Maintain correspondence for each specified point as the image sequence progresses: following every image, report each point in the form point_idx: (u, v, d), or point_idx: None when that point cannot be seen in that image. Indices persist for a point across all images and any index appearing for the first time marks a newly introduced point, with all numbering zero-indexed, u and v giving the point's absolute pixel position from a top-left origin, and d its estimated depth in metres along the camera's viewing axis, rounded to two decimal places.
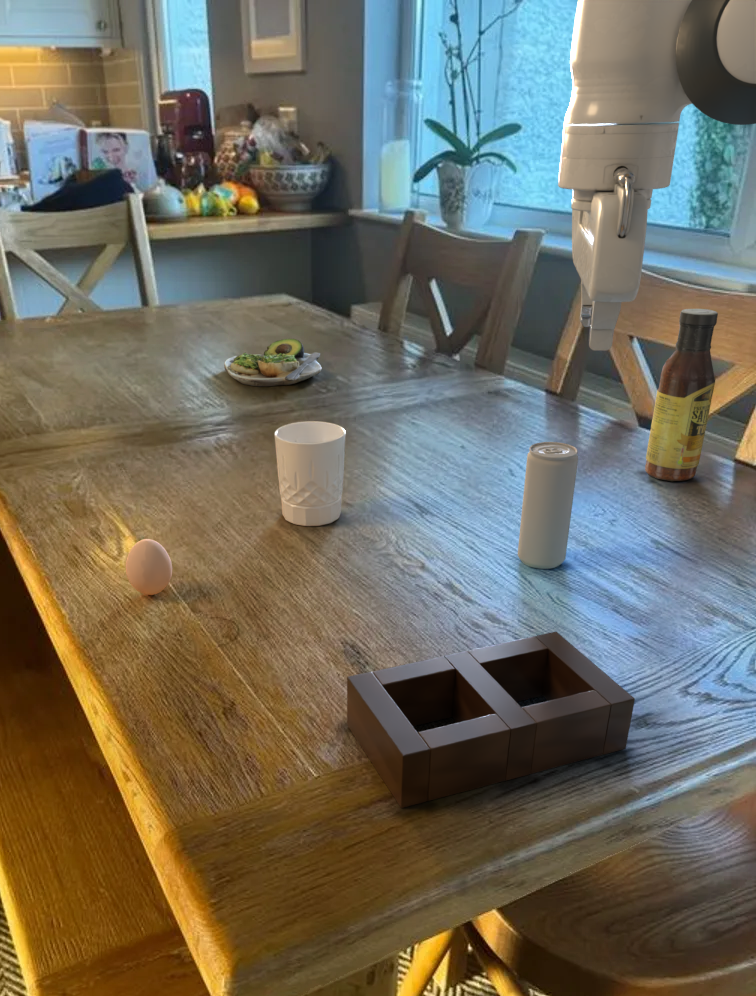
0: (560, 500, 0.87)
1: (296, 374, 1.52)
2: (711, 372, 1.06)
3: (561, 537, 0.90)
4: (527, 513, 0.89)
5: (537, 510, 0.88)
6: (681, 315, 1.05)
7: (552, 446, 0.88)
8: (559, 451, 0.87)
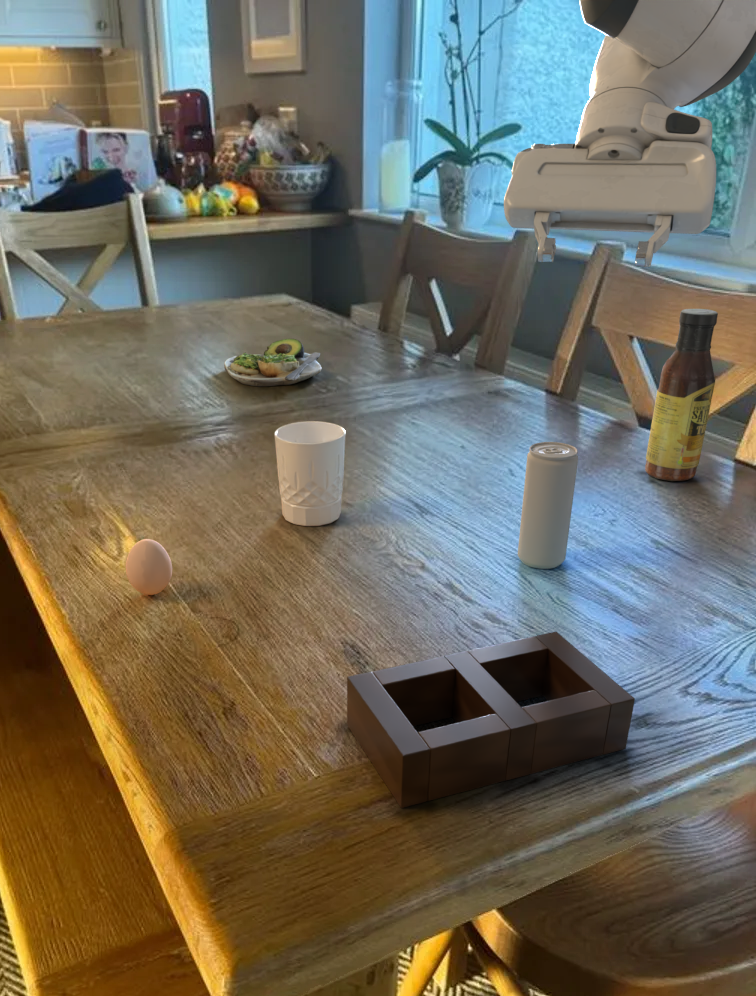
0: (560, 500, 0.87)
1: (296, 374, 1.52)
2: (711, 372, 1.06)
3: (561, 537, 0.90)
4: (527, 513, 0.89)
5: (537, 510, 0.88)
6: (681, 315, 1.05)
7: (552, 446, 0.88)
8: (559, 451, 0.87)
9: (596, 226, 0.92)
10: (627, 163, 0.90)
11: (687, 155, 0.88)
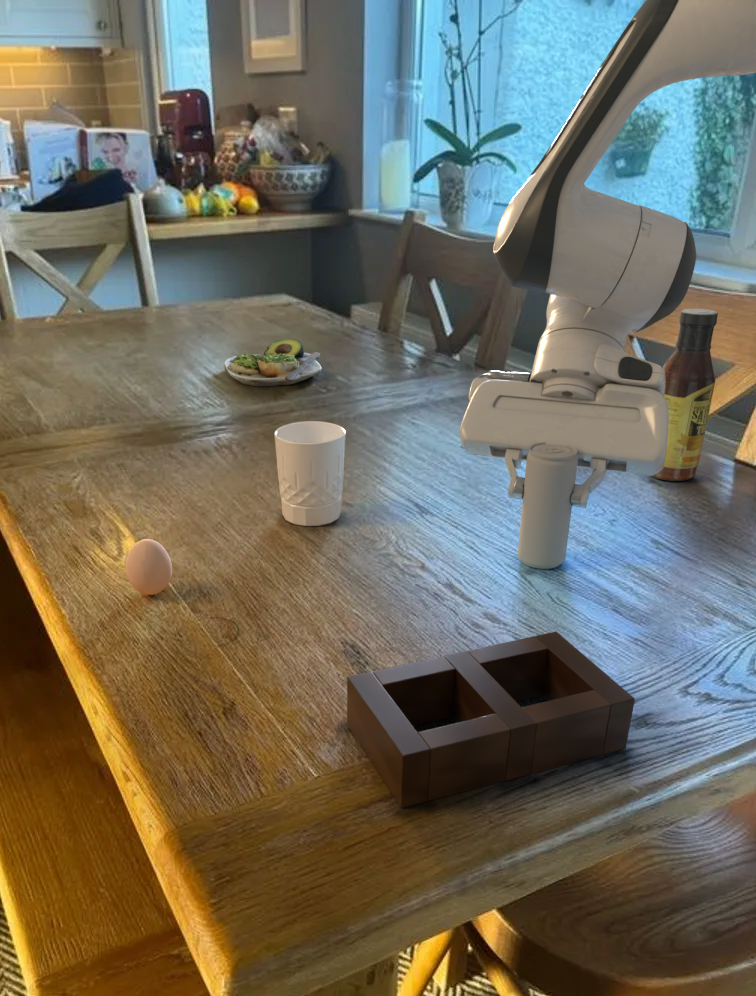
0: (560, 500, 0.87)
1: (296, 374, 1.52)
2: (711, 372, 1.06)
3: (561, 537, 0.90)
4: (527, 513, 0.89)
5: (536, 510, 0.88)
6: (681, 315, 1.05)
7: (551, 446, 0.88)
8: (559, 451, 0.87)
9: None
10: (581, 403, 0.90)
11: (640, 400, 0.87)
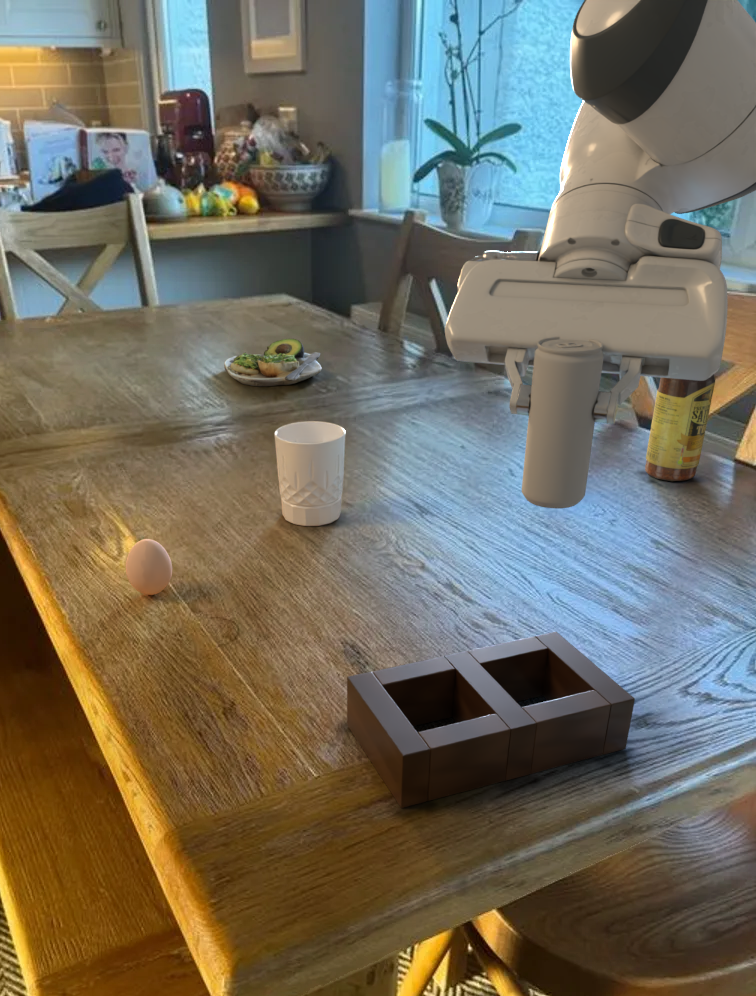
0: (579, 412, 0.65)
1: (296, 374, 1.52)
2: None
3: (579, 465, 0.67)
4: (534, 432, 0.67)
5: (547, 427, 0.66)
6: None
7: (568, 341, 0.66)
8: (578, 345, 0.64)
9: None
10: (607, 284, 0.67)
11: (688, 277, 0.65)
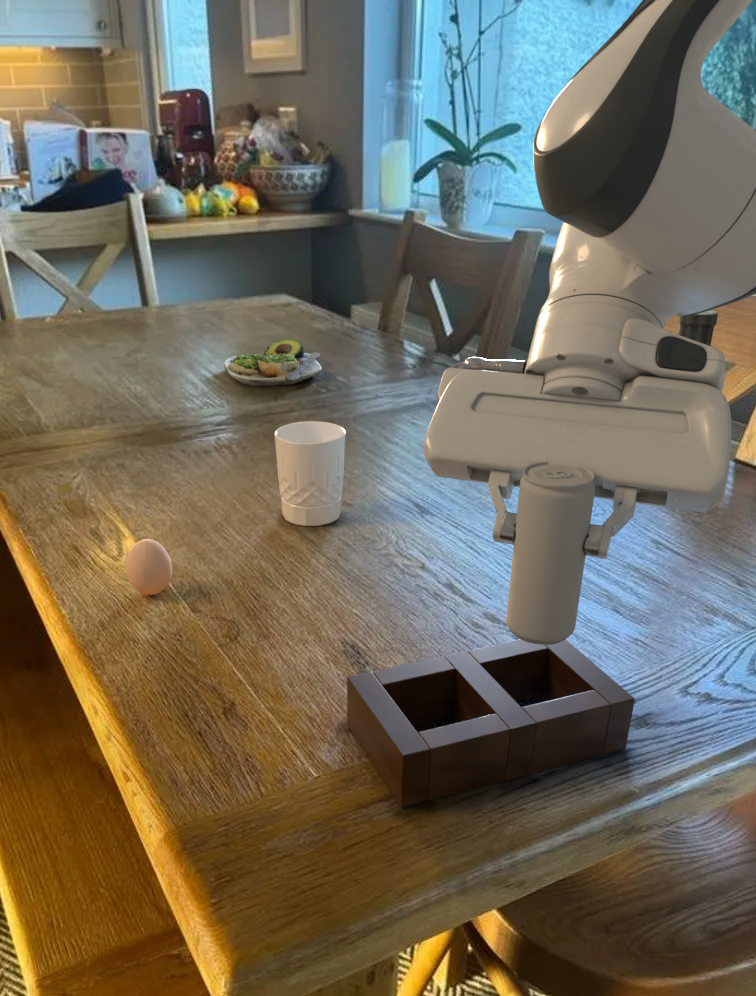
0: (568, 548, 0.59)
1: (296, 374, 1.52)
2: None
3: (569, 601, 0.61)
4: (520, 566, 0.61)
5: (534, 562, 0.60)
6: None
7: (556, 468, 0.60)
8: (567, 476, 0.59)
9: None
10: (600, 404, 0.61)
11: (688, 401, 0.59)
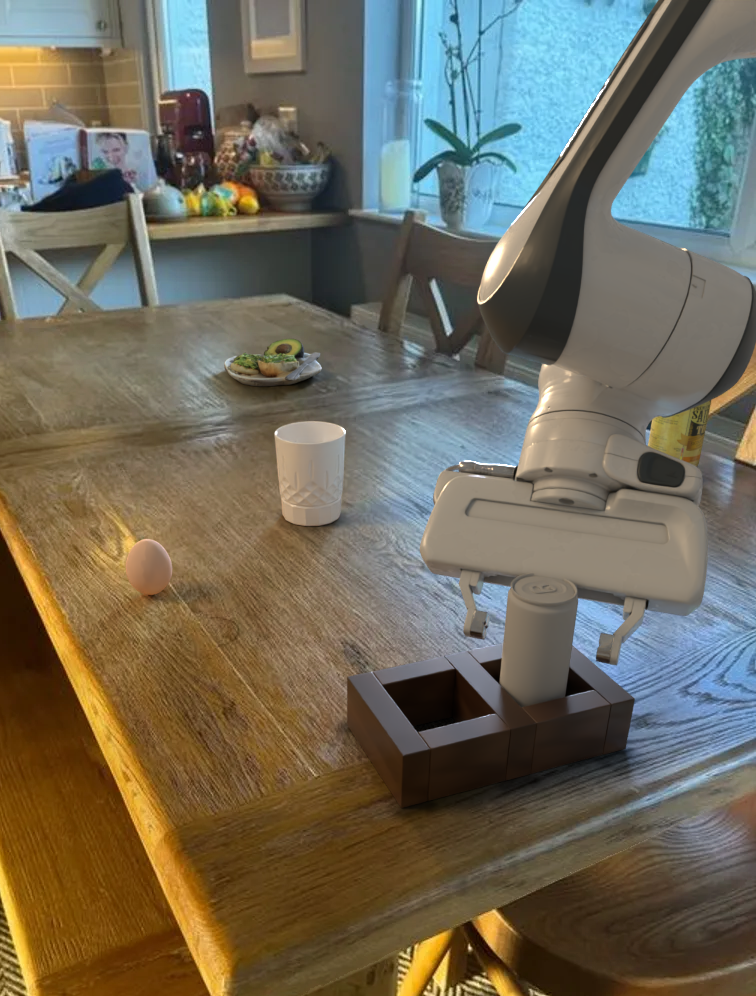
0: (553, 657, 0.63)
1: (296, 374, 1.52)
2: None
3: None
4: (508, 671, 0.65)
5: (521, 669, 0.64)
6: None
7: (542, 580, 0.64)
8: (552, 590, 0.63)
9: None
10: (585, 513, 0.65)
11: (667, 514, 0.63)
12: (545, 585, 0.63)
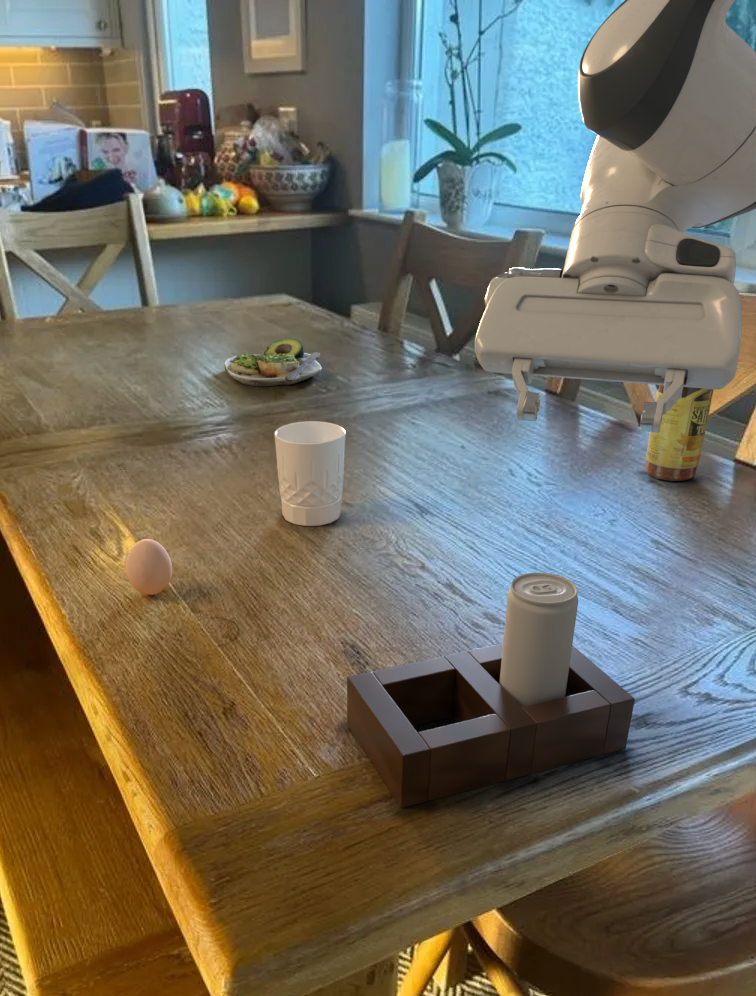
0: (553, 657, 0.63)
1: (296, 374, 1.52)
2: None
3: None
4: (508, 671, 0.65)
5: (521, 669, 0.64)
6: None
7: (542, 580, 0.64)
8: (552, 590, 0.63)
9: (590, 375, 0.73)
10: (628, 299, 0.71)
11: (704, 293, 0.69)
12: (545, 585, 0.63)
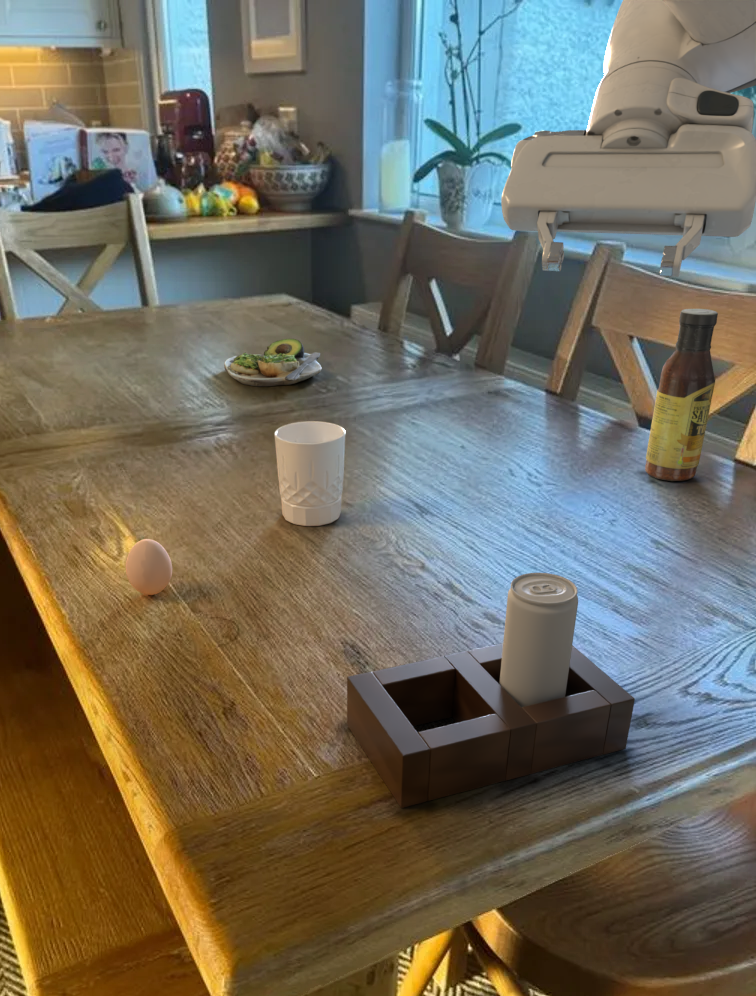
0: (553, 658, 0.63)
1: (296, 374, 1.52)
2: (711, 372, 1.06)
3: None
4: (508, 671, 0.65)
5: (521, 669, 0.64)
6: (681, 315, 1.05)
7: (542, 580, 0.64)
8: (552, 590, 0.63)
9: (612, 228, 0.77)
10: (650, 152, 0.75)
11: (723, 141, 0.72)
12: (545, 585, 0.63)
